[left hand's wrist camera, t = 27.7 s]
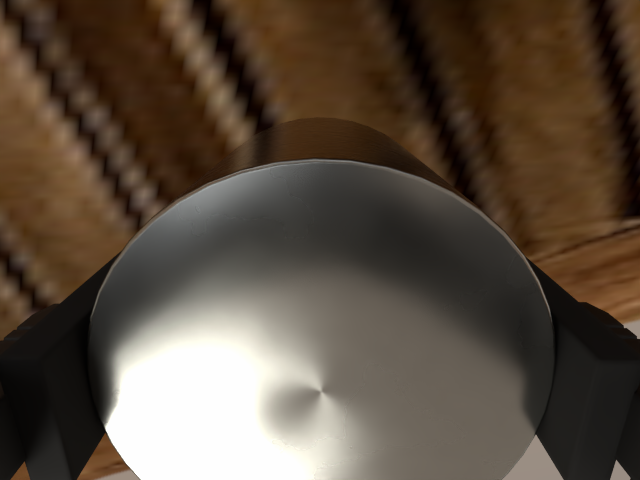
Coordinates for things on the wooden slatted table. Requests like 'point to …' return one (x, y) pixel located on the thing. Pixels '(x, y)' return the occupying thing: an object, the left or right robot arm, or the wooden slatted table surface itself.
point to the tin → (321, 322)
